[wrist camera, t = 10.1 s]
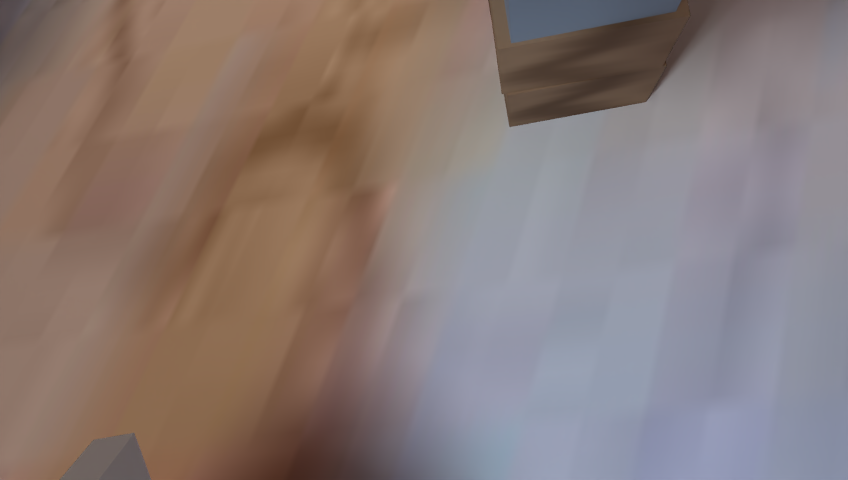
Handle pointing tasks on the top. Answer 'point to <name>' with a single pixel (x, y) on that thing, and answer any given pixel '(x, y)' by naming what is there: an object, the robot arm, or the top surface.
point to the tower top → (584, 50)
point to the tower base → (580, 96)
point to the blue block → (576, 15)
